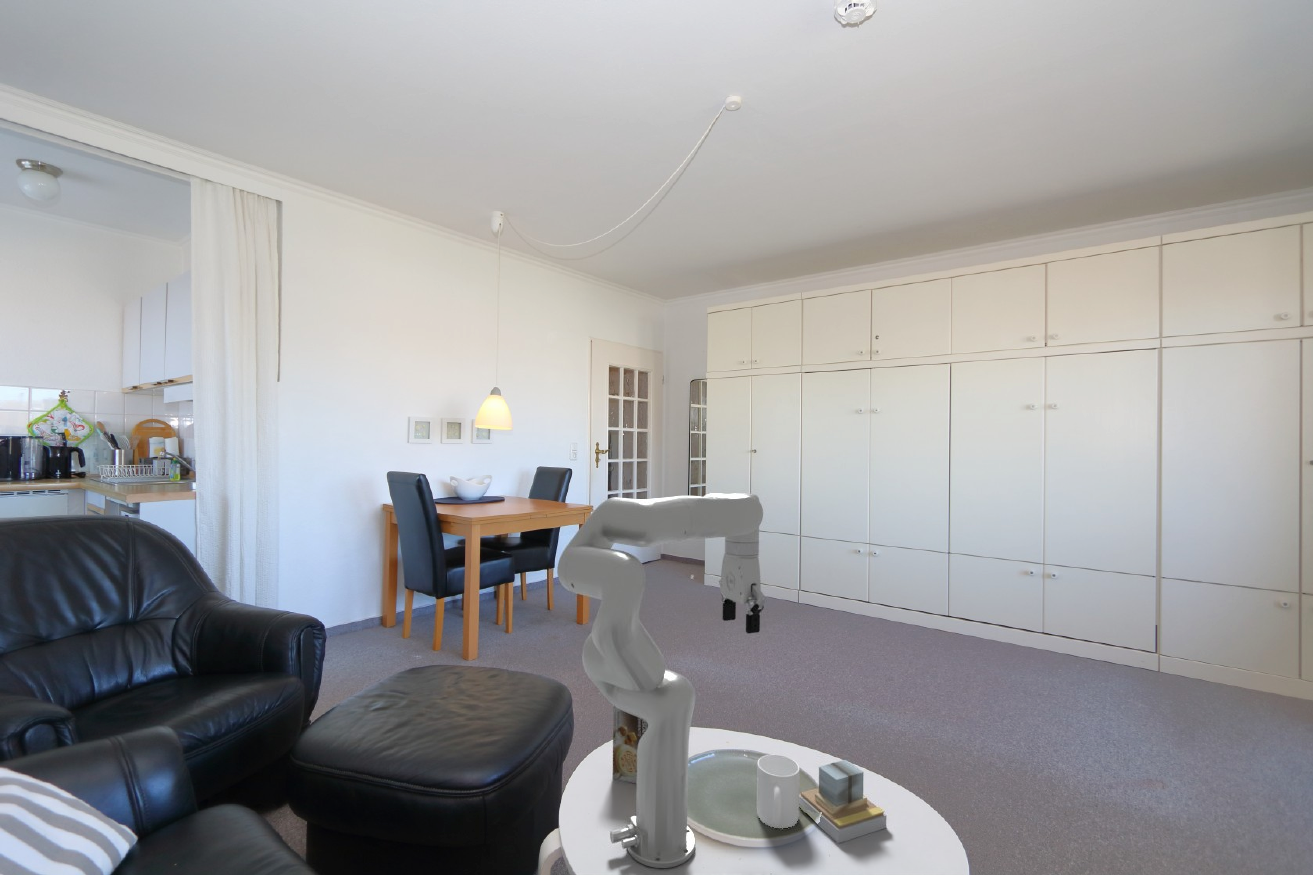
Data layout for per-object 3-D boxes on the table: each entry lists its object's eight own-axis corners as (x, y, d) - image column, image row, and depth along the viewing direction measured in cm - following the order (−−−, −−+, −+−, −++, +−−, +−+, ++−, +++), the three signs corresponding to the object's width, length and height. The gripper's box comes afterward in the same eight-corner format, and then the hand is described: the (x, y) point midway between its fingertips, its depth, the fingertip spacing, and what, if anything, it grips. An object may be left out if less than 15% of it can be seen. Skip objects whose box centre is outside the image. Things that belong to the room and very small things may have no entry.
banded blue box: (832, 814, 111) (832, 780, 111) (814, 799, 116) (814, 767, 116) (867, 803, 115) (867, 770, 115) (848, 789, 119) (849, 758, 120)
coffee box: (658, 771, 130) (660, 700, 130) (650, 787, 124) (651, 712, 124) (620, 764, 133) (622, 694, 133) (610, 779, 127) (612, 705, 127)
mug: (799, 846, 106) (799, 790, 106) (753, 838, 108) (754, 783, 108) (798, 808, 118) (799, 757, 118) (757, 801, 120) (758, 751, 120)
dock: (838, 843, 107) (838, 825, 107) (797, 806, 118) (798, 790, 118) (886, 827, 112) (886, 811, 112) (843, 793, 123) (843, 778, 123)
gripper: (708, 543, 134) (706, 617, 134) (748, 556, 118) (747, 639, 118) (735, 542, 137) (734, 614, 137) (778, 554, 121) (777, 635, 121)
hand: (740, 625), depth 127 cm, fingers open, 9 cm apart
